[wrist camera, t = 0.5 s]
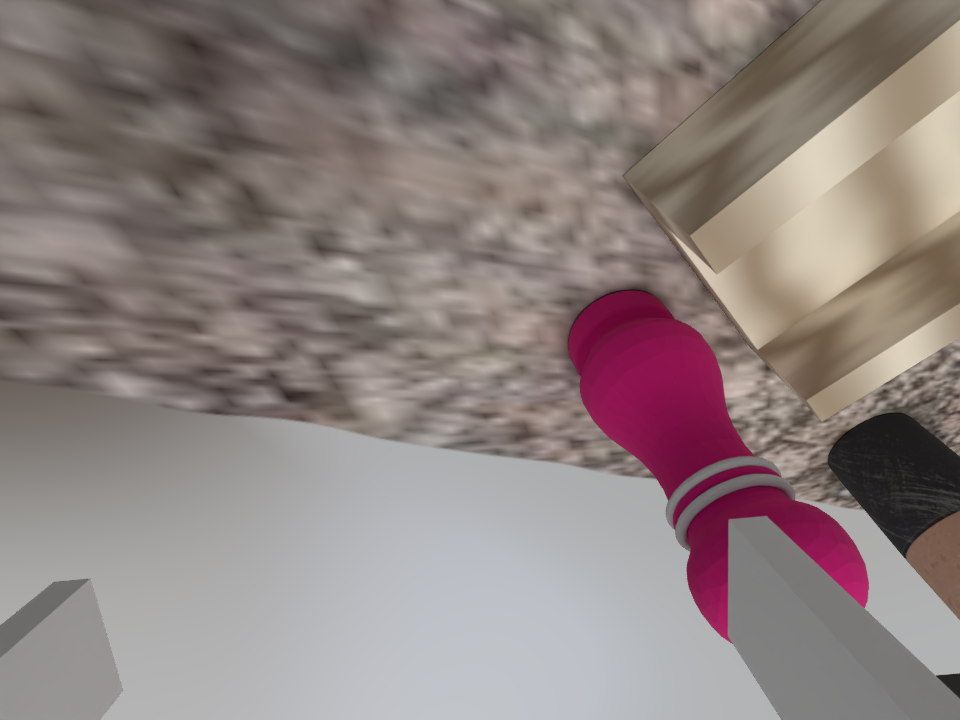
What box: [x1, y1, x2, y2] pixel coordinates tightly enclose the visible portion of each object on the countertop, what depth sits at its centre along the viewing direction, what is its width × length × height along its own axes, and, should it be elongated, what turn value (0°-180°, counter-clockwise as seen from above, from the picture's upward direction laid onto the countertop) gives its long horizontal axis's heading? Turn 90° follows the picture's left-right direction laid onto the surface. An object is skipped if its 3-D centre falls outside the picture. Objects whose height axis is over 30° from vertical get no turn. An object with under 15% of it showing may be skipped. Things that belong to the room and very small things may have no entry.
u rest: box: [623, 0, 960, 422], centre depth 25 cm, size 17×16×7 cm
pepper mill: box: [568, 291, 869, 644], centre depth 24 cm, size 7×7×20 cm
